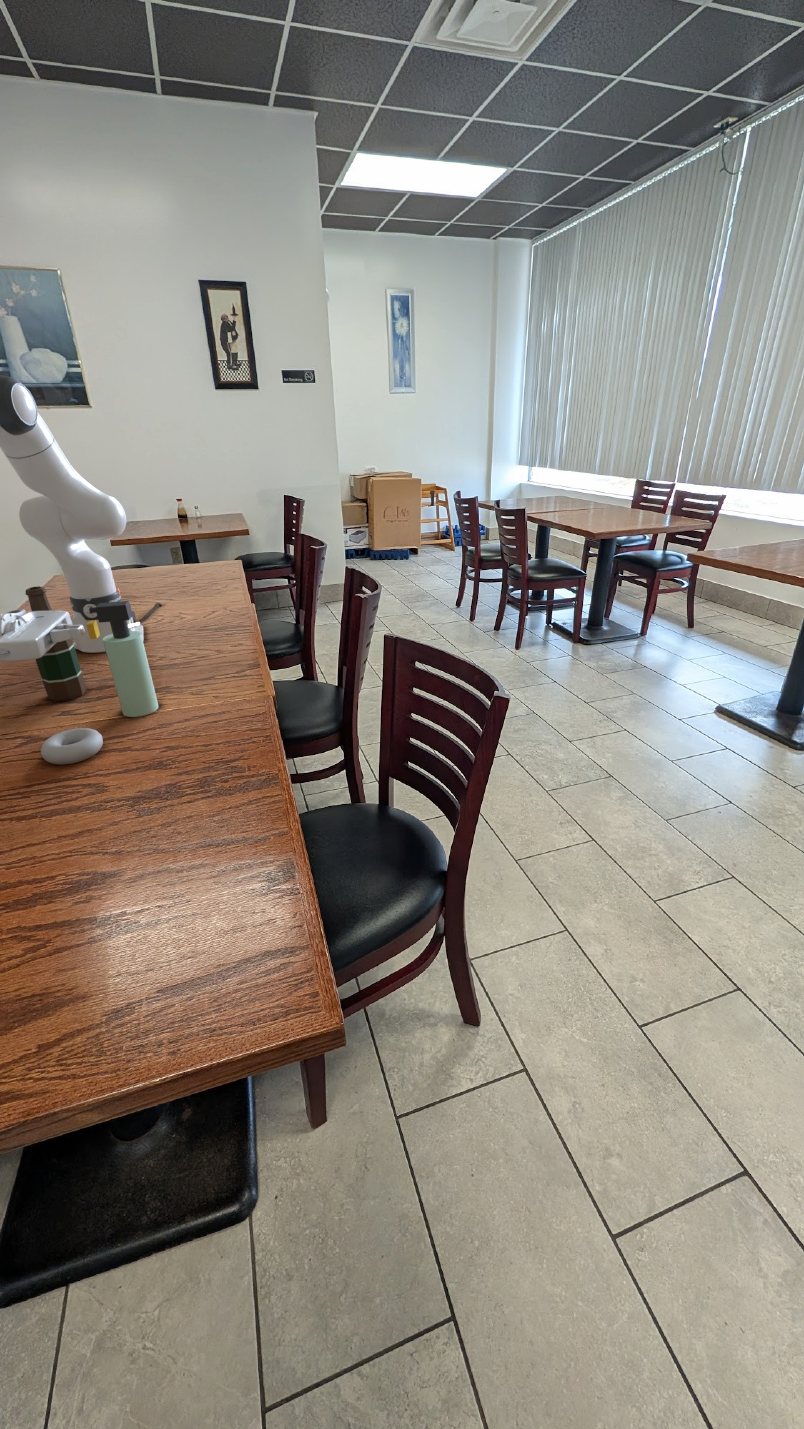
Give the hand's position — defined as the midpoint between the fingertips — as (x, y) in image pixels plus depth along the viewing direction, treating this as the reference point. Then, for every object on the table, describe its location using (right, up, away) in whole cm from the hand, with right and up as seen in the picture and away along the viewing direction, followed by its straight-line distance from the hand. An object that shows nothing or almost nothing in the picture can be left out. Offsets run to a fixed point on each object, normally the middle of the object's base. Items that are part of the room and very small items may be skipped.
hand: (81, 630), depth 113 cm
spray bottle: (+7, -15, +9) cm, 19 cm away
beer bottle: (-13, -12, +18) cm, 25 cm away
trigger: (+2, -1, +1) cm, 3 cm away
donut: (+3, -24, -7) cm, 25 cm away
